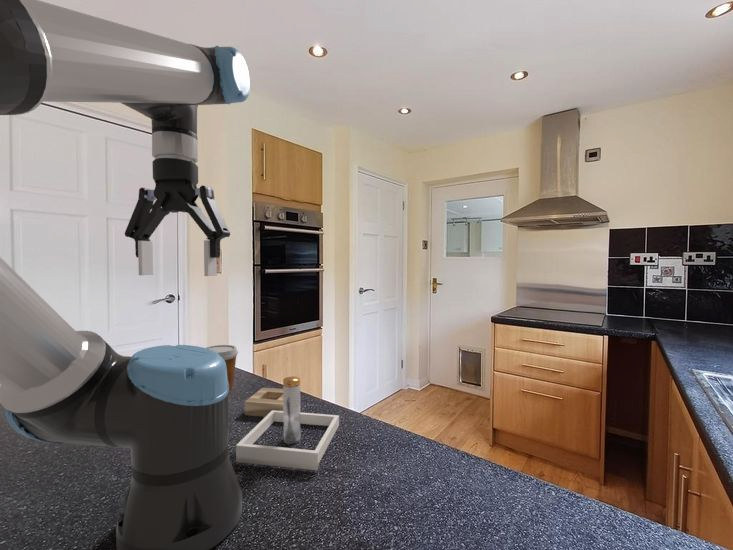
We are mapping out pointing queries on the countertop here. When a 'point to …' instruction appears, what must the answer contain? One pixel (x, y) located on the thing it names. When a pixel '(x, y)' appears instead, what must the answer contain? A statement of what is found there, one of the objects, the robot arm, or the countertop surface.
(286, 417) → the pin
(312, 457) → the rectangular frame
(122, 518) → the robot arm
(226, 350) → the disposable coffee cup
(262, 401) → the socket block
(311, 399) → the countertop surface
